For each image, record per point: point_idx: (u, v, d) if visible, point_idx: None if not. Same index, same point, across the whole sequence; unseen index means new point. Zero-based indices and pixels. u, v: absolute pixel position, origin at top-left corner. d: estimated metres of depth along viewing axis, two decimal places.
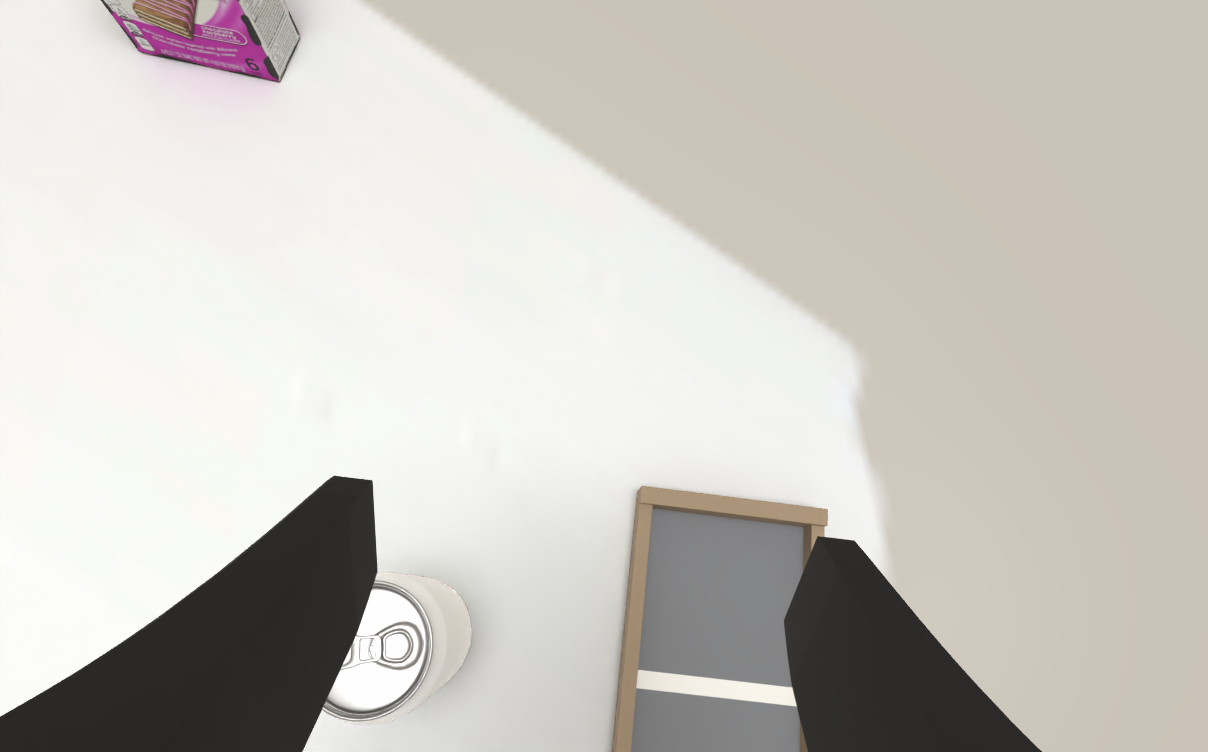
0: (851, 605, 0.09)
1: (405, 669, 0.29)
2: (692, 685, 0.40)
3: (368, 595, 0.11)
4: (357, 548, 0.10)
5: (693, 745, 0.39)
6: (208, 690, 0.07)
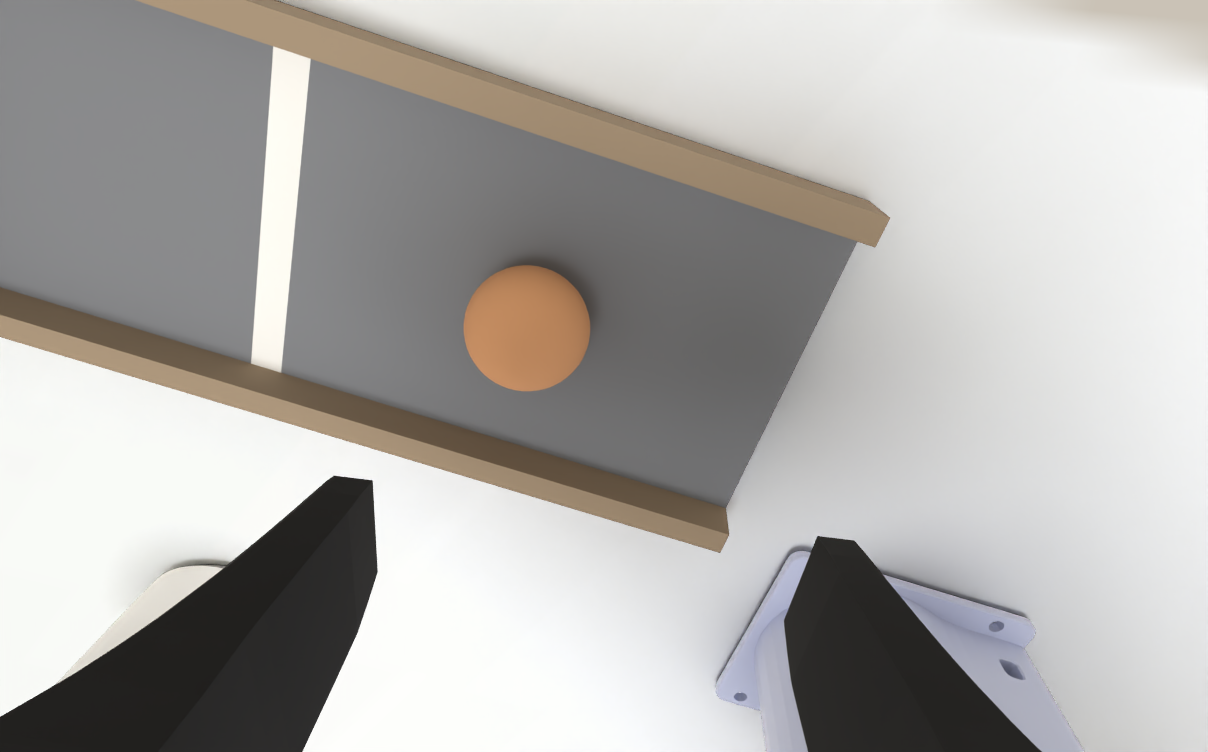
0: (850, 605, 0.09)
1: None
2: (274, 270, 0.21)
3: (368, 595, 0.11)
4: (357, 548, 0.10)
5: (376, 294, 0.21)
6: (208, 690, 0.07)
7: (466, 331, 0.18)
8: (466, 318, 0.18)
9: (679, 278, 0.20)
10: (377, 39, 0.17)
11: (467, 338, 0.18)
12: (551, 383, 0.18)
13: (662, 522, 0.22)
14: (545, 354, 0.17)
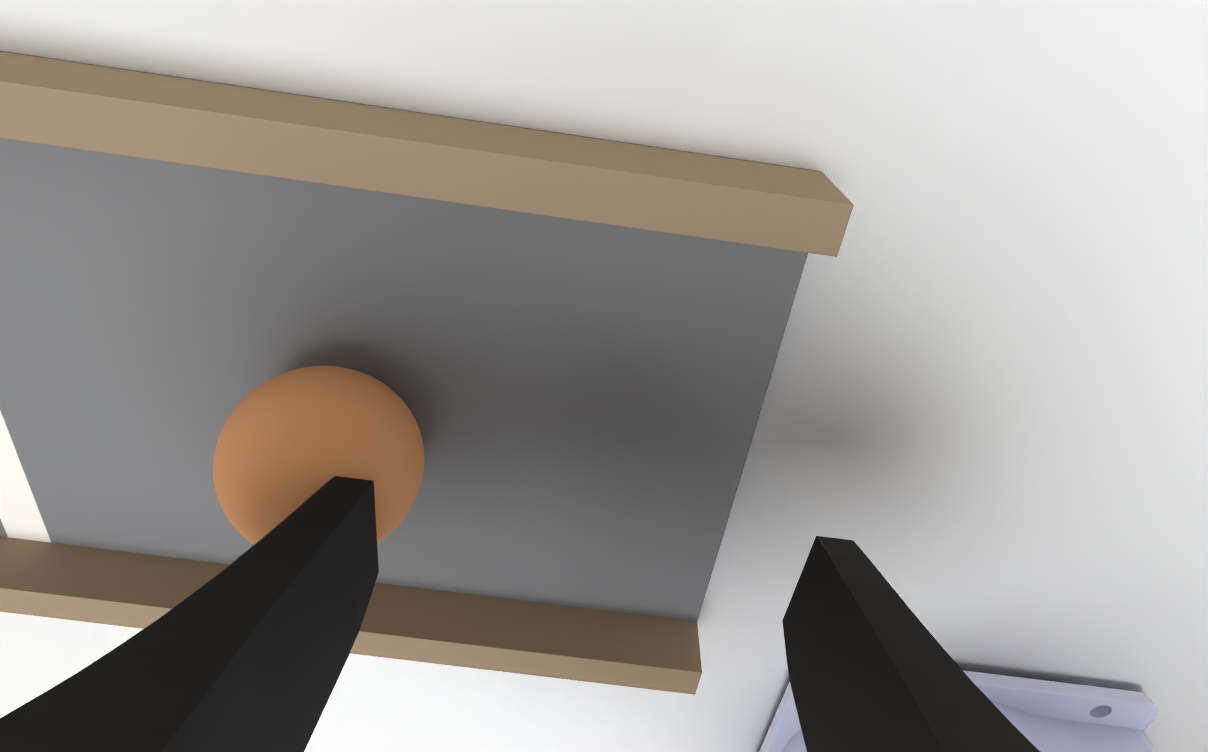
0: (849, 605, 0.09)
1: None
2: None
3: (369, 595, 0.11)
4: (358, 548, 0.10)
5: (129, 427, 0.14)
6: (210, 690, 0.07)
7: (216, 493, 0.11)
8: None
9: (549, 339, 0.13)
10: None
11: None
12: None
13: (605, 669, 0.15)
14: None
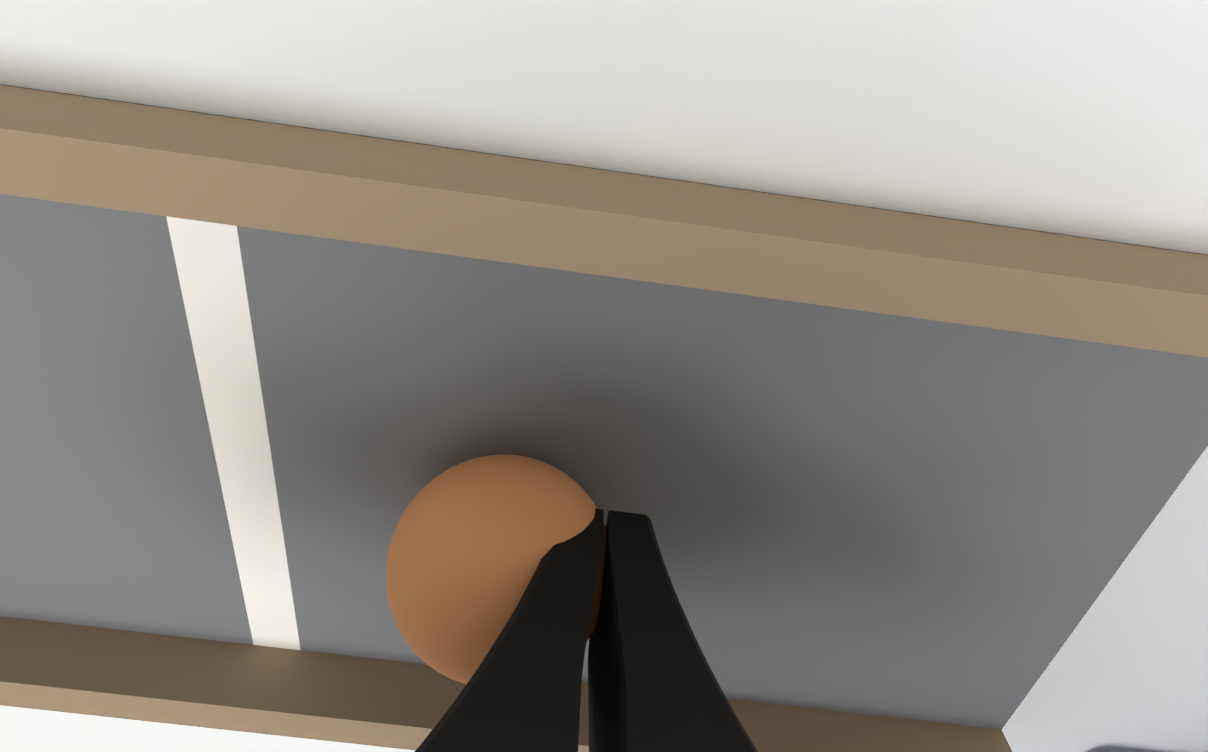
0: (610, 576, 0.09)
1: None
2: (256, 527, 0.13)
3: None
4: None
5: None
6: (575, 731, 0.07)
7: None
8: None
9: (936, 447, 0.11)
10: (347, 153, 0.09)
11: None
12: None
13: None
14: (387, 557, 0.10)
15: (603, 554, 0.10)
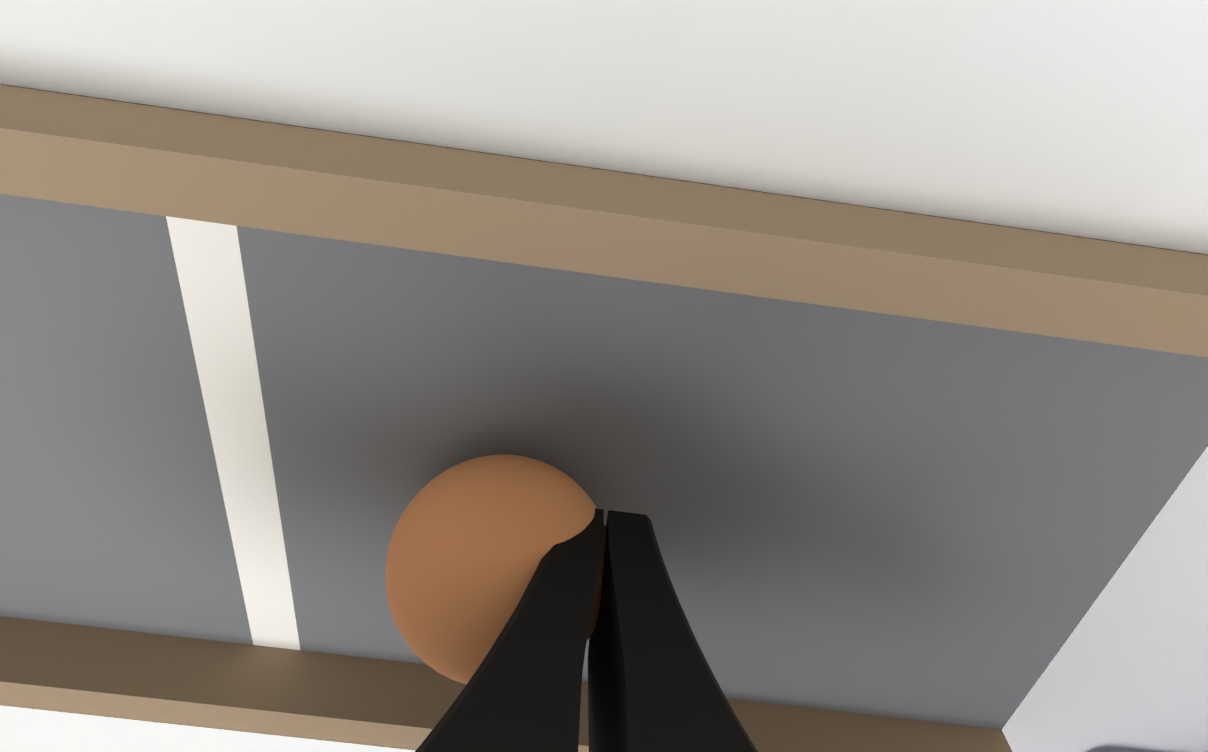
0: (610, 575, 0.09)
1: None
2: (256, 527, 0.13)
3: None
4: None
5: None
6: (575, 731, 0.07)
7: None
8: None
9: (936, 447, 0.11)
10: (347, 152, 0.09)
11: None
12: None
13: None
14: (387, 557, 0.10)
15: (603, 554, 0.10)
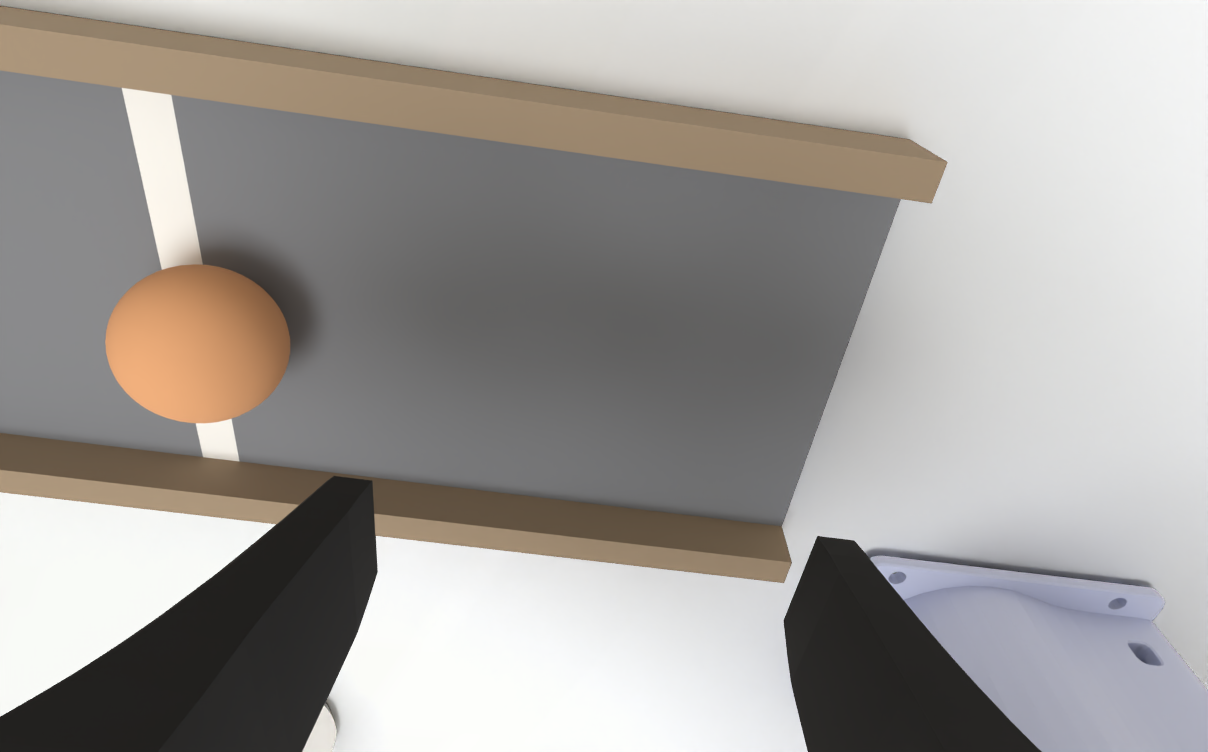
0: (851, 605, 0.09)
1: None
2: None
3: (368, 595, 0.11)
4: (357, 548, 0.10)
5: (324, 357, 0.17)
6: (208, 690, 0.07)
7: (274, 362, 0.15)
8: (264, 357, 0.14)
9: (683, 278, 0.16)
10: (243, 49, 0.13)
11: (278, 365, 0.15)
12: None
13: (710, 561, 0.18)
14: None
15: (111, 336, 0.14)
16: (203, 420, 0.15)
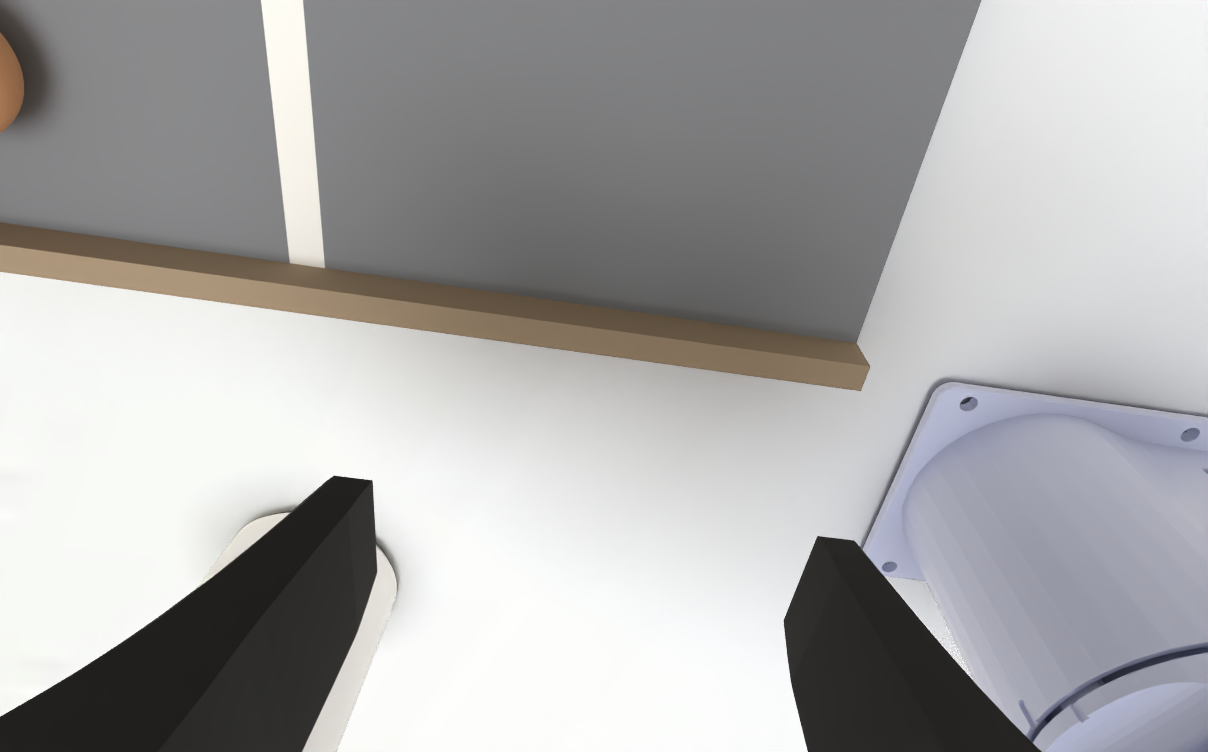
0: (851, 605, 0.09)
1: None
2: (295, 140, 0.18)
3: (368, 595, 0.11)
4: (357, 548, 0.10)
5: (416, 146, 0.17)
6: (208, 690, 0.07)
7: None
8: None
9: (776, 51, 0.16)
10: None
11: None
12: None
13: (789, 365, 0.19)
14: None
15: None
16: None
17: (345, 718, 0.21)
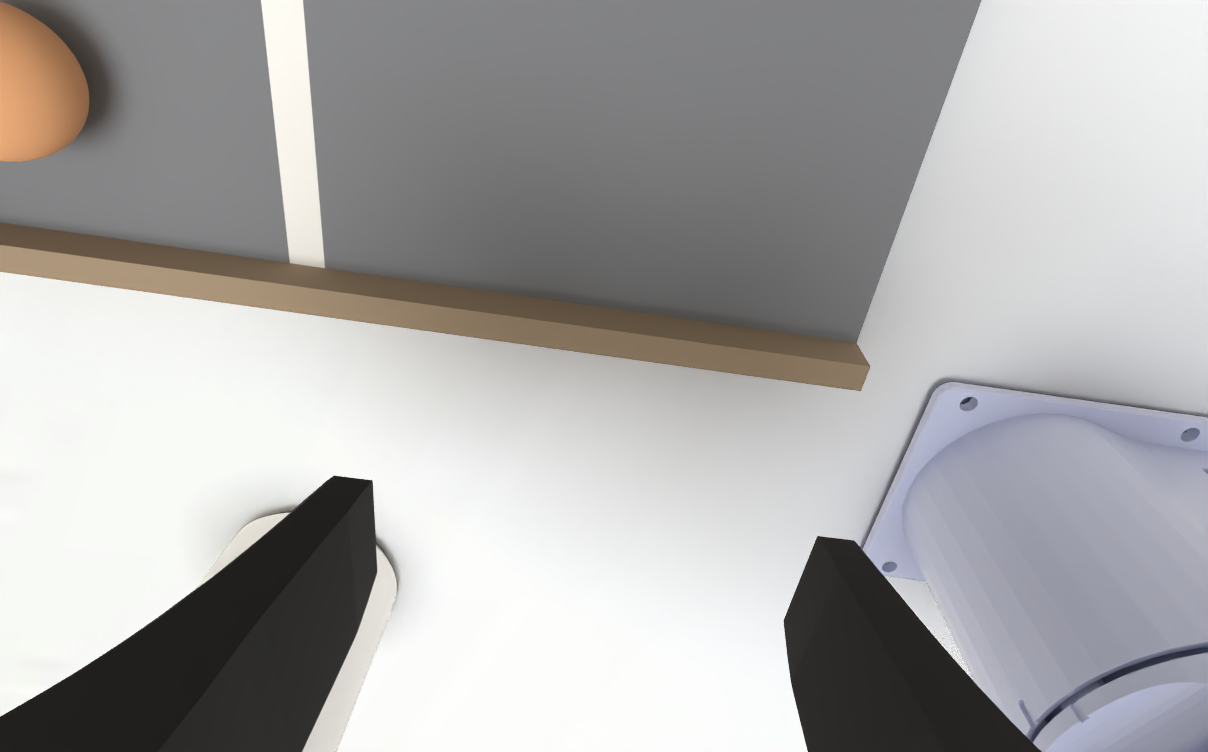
0: (851, 605, 0.09)
1: None
2: (295, 140, 0.18)
3: (368, 595, 0.11)
4: (357, 548, 0.10)
5: (416, 146, 0.17)
6: (208, 690, 0.07)
7: None
8: None
9: (776, 51, 0.16)
10: None
11: None
12: None
13: (789, 365, 0.19)
14: None
15: (42, 62, 0.15)
16: None
17: (345, 718, 0.21)
